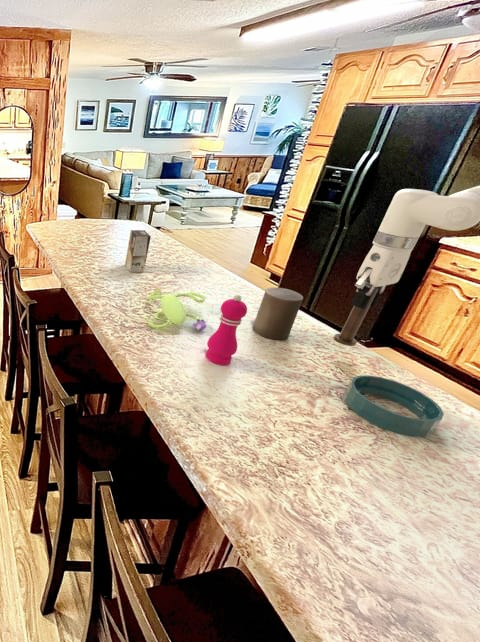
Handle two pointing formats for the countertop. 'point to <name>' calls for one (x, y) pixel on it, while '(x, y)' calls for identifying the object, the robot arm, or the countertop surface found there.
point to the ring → (399, 394)
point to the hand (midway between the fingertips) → (362, 305)
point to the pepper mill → (226, 332)
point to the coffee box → (137, 250)
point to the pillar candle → (277, 313)
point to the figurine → (175, 310)
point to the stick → (353, 323)
